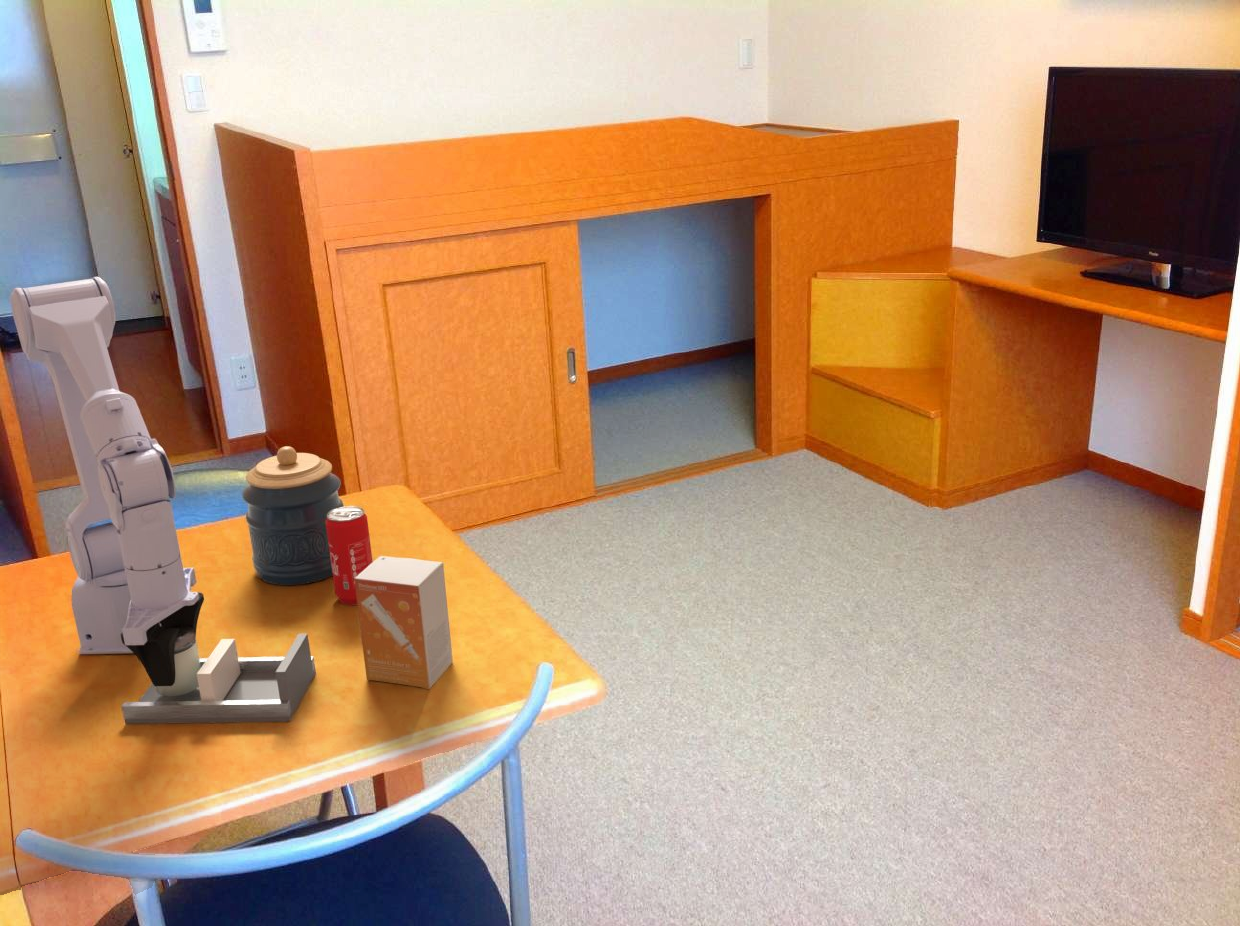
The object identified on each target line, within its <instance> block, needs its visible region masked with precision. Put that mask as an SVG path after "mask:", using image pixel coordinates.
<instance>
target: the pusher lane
mask: <svg viewBox="0 0 1240 926" xmlns="http://www.w3.org/2000/svg"><path fill="white" fill-rule="evenodd" d="M309 640H310V639H309V634H308V632H307V633H298V634H297V636H296V637H295V639H294V641H293V643H292V644H291V645H290V647H289V649H288V651H287V652H286V654H285V656H258V657H255V656H254V657H253V656H252V657H248V656H247V657H238V660H239V666H240V671H241V673H240V675H239V676H238V678H237V679H236V681H235V682H234V684H233V685H232V687H231V689H230V690H229V692H228V693H227V695H226V696H225V698H224V699H223V701H202V700H201V695H200V690H199V687H198V688H197V689H195V690H193V691H191V692H189V693H186V694H183V695H178V696H164V695H160V694H159V693H157V691H156V688H155V686H154V684H153V683H152V682H151V685H150V686H149V687H148V688H147V689H146V691H145V692H144V694H143V695H142V696H141V697H140V698H139V700H138V701H128V702H127V701H125V702H123V704H122V705H121V709H122V714H123V720H124V723H125V725H133V724H134V725H140V724H141V725H144V724H146V725H147V724H205V723H209V724H211V723H217V724H218V723H270V722H271V723H272V722H273V723H274V722H275V723H276V722H277V723H278V722H280V723H281V722H291V720H292V718H293V717H294V714H295V712H296V710H298V707H299V705H300V703H301V701H302V699H303V698H304V696H305V694H306V692H307V691H308V689H309V687H310V684H311V683H312V681H313V679H314V678H315V676H316V673H317V670H316V666H315V665H316V664H315V657H314V656H312V654H311V647H310V641H309ZM199 659H200V664H201V667H202V666H203V664H204V663H205V662H206V660H207V659H208V657H204V658H203V657H202V658H201V657H199Z"/></svg>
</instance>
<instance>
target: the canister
mask: <svg viewBox="0 0 1240 926" xmlns="http://www.w3.org/2000/svg"><path fill="white" fill-rule="evenodd" d="M332 470H333V465H332V463H331V462H330V461H329V460H326V459H324V458H321V457H319V456H318V455H316V454H313V453H310V452H309V453H308V452H297V451H296V450H295V448H294V447H292V446H290V445H289V446H288V445H286V446H282V447H280V448H279V449H278V450H277V452H276V455H274V456H270V457H267V458H266V459H262V460H261V461H259V462H258V463H257V464H256V465H255V466H254V467H253V468H251V469H250V470H248V472H247V473H246V475H245V480H246V483H248V485H246V486H245V487H244V489H243V490H242V493H241V498H242V500H243V501H244V502H245V503H247V512H246V515H245V521H246V523H247V524H248V525H247V526H248V531H249V537H250V543H251V550H252V551H251V552H252V556H251V557H252V564H253V568H254V570H255V572H256V575H257V577H258V578H260V580H262V581H264V582H266V583H270V584H272V585H273V584H274V585H280V586H282V585H283V586H296V585H299V586H300V585H305V584H310V583H315V582H316V583H317V582H318V581H323V580H325V579H328V578H330V577H333V573H332V566H331V558H330V551H329V544H328V537H327V530H326V519H327V514H328V512H330V511H331V510H333V509H336V508H340V507H345V506H344V503H343V500H342V499H341V498H340V496H339V492H338V491H339V489H340V488H341V487H340V486H341V479H340V477H338V476H337V475H336V474H334V473H333V472H332Z"/></svg>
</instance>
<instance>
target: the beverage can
mask: <svg viewBox="0 0 1240 926" xmlns="http://www.w3.org/2000/svg"><path fill="white" fill-rule="evenodd" d="M326 530H327V537H328V544H329V551H330V558H331V566H332V573H333V575H332V578H333V586H334V587H333V588H334V592H335V593H334V594H335V596H336V598H337V599H339V603H340V604H341V605H344V606H358V604H357V596H356V587H355V577H357V576H358V575H359V574H360V573H361V572H362V571H363V570H364V569H365V568H367V567H368V566H369V565H370V564H371V563H372V562H374V561H373V554H372V553H373V552H372V547H371V546H372V545H371V538H370V528H369V521H368V515H367V514H366V513H365V509H364V508H363V507H360V506H357V505H356V506H355V505H349V506H348V505H346V506H343V507H340V508H336V509H333V510H331V511H330V512H328V514H327V519H326Z"/></svg>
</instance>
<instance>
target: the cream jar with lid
mask: <svg viewBox="0 0 1240 926" xmlns="http://www.w3.org/2000/svg"><path fill="white" fill-rule="evenodd" d="M169 628H179V631H178V634H177V637H176V642H175V649H174V661H175V683H174V684H173V685H172V686H155V688H156V691H157V693H159V694H160V695H164V696H178V695H183V694H186V693H189V692H191V691H193V690H195V689H197V688H198V687H199V684H198V679H197V673H198V671H199V670H200V668H201V664H200V659H199V658H200V655H199V650H198V645H197V640H196V639H197V637H196V638H195V632H194V630H193V628H191V627H189V626H183V625H176V626H169V627H165V628H163V629H169Z"/></svg>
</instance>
